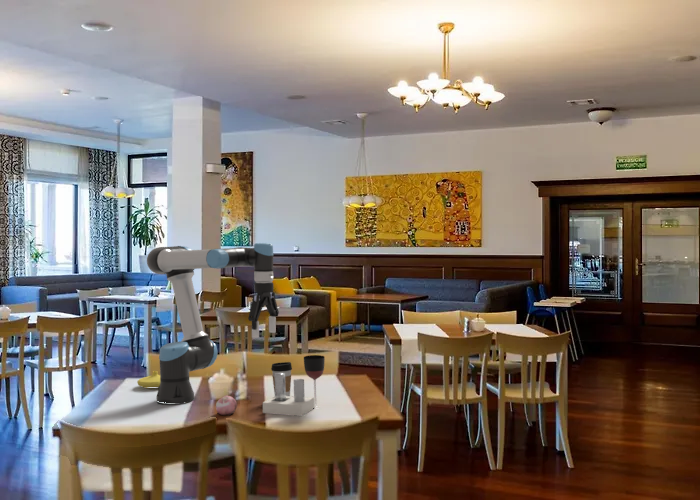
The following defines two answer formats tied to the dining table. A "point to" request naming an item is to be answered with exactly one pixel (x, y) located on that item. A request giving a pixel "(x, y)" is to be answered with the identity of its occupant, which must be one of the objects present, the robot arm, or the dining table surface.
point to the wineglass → (314, 369)
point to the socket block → (291, 402)
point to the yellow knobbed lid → (150, 380)
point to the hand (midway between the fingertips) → (264, 335)
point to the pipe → (280, 387)
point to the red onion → (226, 405)
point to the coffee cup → (283, 368)
